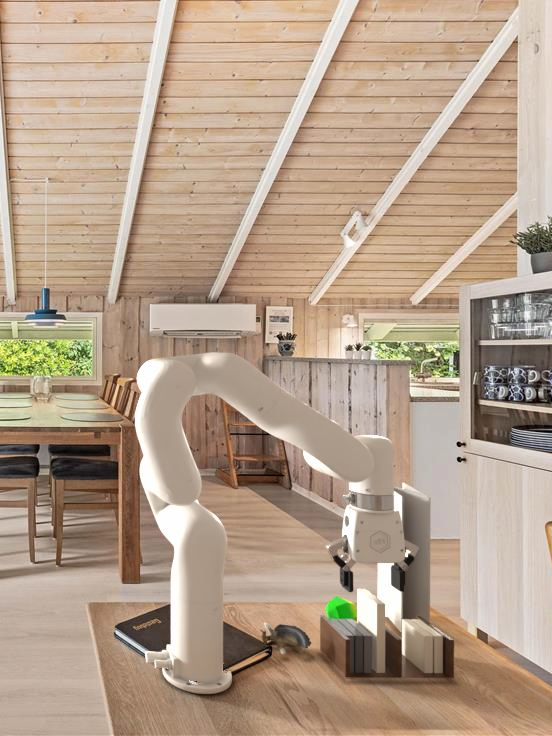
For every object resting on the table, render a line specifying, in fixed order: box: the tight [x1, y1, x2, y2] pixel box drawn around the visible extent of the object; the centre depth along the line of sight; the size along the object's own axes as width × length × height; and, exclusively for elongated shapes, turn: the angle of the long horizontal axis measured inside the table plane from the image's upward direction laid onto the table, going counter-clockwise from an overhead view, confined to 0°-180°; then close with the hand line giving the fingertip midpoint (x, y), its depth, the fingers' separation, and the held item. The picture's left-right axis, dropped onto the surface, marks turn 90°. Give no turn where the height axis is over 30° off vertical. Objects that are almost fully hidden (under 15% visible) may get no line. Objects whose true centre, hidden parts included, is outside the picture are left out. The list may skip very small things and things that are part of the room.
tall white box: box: [377, 482, 431, 634], centre depth 139 cm, size 14×6×30 cm, turn 168°
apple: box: [325, 595, 357, 622], centre depth 138 cm, size 7×6×9 cm
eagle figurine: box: [259, 622, 312, 656], centre depth 125 cm, size 8×7×9 cm
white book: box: [356, 588, 386, 673], centre depth 120 cm, size 2×7×13 cm, turn 0°
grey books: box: [327, 618, 372, 673], centre depth 120 cm, size 5×7×7 cm
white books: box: [401, 619, 443, 673], centre depth 120 cm, size 4×7×7 cm, turn 0°
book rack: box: [319, 614, 455, 679], centre depth 120 cm, size 20×10×8 cm, turn 90°
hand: (372, 589), depth 120 cm, fingers open, 9 cm apart
